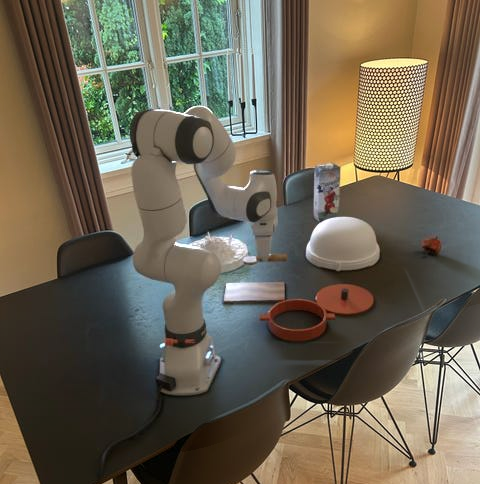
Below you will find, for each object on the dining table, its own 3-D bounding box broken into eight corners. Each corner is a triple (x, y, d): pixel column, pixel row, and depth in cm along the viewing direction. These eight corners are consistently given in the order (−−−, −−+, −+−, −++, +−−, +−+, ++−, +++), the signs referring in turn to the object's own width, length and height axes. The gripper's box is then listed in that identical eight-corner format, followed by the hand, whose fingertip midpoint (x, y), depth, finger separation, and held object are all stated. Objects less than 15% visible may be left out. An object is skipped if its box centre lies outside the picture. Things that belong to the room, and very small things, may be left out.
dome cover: (377, 275, 190) (380, 241, 182) (299, 269, 198) (299, 236, 190) (381, 240, 215) (384, 209, 208) (312, 236, 223) (312, 206, 215)
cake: (188, 279, 196) (186, 257, 191) (177, 250, 219) (174, 230, 214) (256, 266, 202) (255, 245, 196) (238, 240, 225) (237, 219, 219)
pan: (337, 342, 156) (337, 330, 154) (259, 342, 158) (258, 331, 156) (331, 309, 172) (332, 298, 170) (261, 310, 174) (260, 299, 172)
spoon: (287, 257, 171) (287, 250, 170) (287, 264, 167) (287, 257, 166) (243, 258, 173) (243, 251, 171) (242, 265, 169) (242, 258, 167)
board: (284, 302, 178) (284, 299, 177) (223, 303, 180) (223, 300, 179) (284, 284, 188) (284, 281, 188) (226, 285, 190) (226, 283, 190)
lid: (377, 316, 167) (378, 305, 165) (317, 316, 169) (317, 305, 166) (368, 286, 184) (369, 275, 181) (314, 287, 185) (314, 277, 183)
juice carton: (311, 218, 240) (312, 162, 225) (331, 214, 242) (334, 158, 227) (319, 225, 233) (321, 167, 218) (340, 221, 235) (343, 163, 220)
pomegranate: (434, 264, 199) (449, 244, 199) (427, 253, 195) (443, 233, 195) (420, 259, 205) (435, 240, 205) (413, 249, 201) (428, 229, 201)
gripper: (255, 208, 170) (257, 245, 178) (252, 233, 154) (254, 272, 161) (274, 207, 170) (275, 244, 178) (272, 232, 153) (274, 272, 161)
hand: (265, 258), depth 169 cm, fingers closed on spoon, 2 cm apart
